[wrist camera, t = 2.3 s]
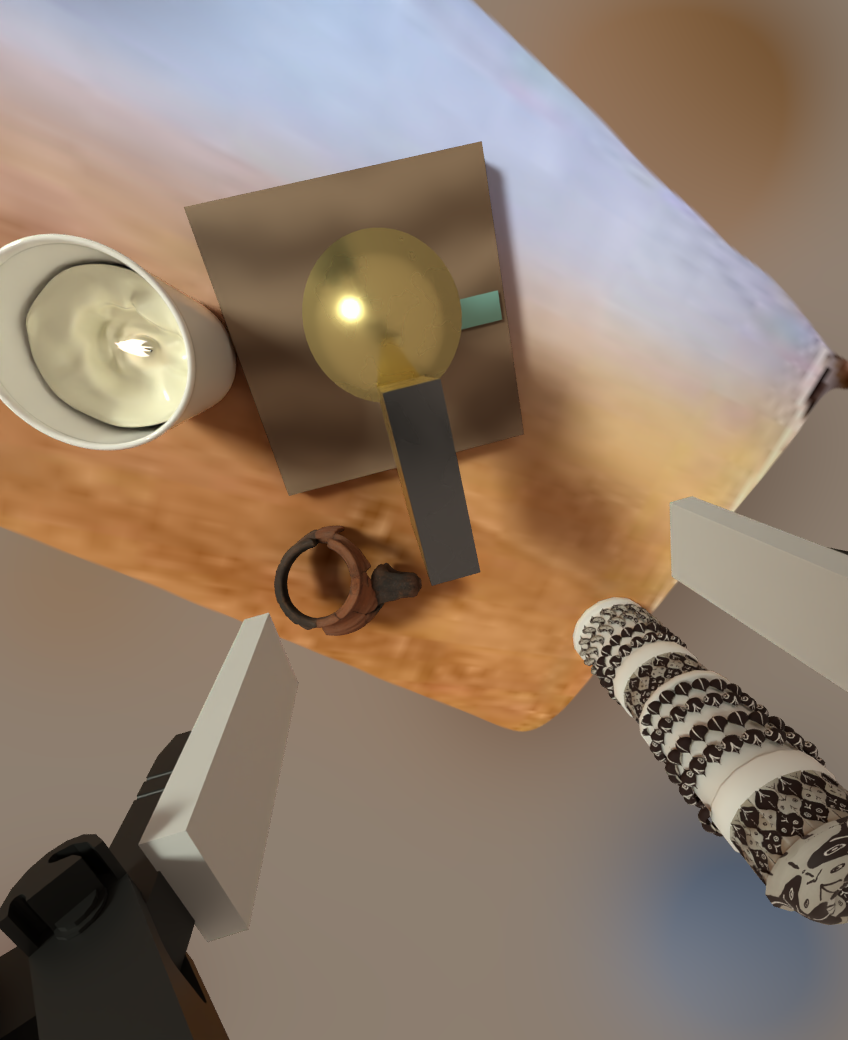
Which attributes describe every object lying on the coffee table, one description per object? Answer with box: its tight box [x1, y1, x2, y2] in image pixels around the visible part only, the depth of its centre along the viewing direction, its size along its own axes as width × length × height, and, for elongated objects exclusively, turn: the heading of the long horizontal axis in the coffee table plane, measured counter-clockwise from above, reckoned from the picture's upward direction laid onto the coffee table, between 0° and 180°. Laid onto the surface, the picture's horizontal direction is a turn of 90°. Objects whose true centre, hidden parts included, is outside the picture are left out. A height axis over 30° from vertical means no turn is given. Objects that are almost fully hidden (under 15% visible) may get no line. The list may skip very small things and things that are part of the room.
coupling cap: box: [302, 228, 480, 586], centre depth 21 cm, size 16×8×8 cm, turn 13°
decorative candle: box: [573, 597, 848, 925], centre depth 35 cm, size 9×9×25 cm
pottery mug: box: [274, 526, 422, 636], centre depth 37 cm, size 12×10×8 cm
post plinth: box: [184, 141, 524, 496], centre depth 29 cm, size 20×20×10 cm
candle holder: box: [0, 234, 236, 450], centre depth 26 cm, size 10×10×12 cm
